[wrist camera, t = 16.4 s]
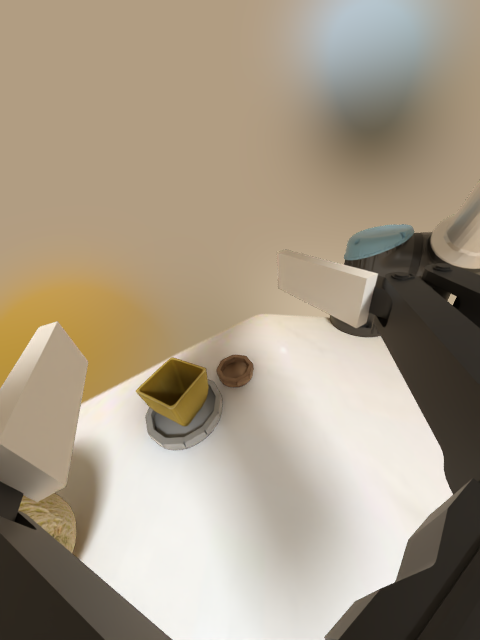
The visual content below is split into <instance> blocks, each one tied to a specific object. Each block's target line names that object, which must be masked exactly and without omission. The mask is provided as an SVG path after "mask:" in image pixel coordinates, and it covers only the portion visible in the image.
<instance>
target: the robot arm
mask: <svg viewBox="0 0 480 640" xmlns="http://www.w3.org/2000/svg"><path fill="white" fill-rule="evenodd" d="M344 259H345V263H344V265H343V264H339V263H335V262H332V261H328V260H324V259H320V258H317V257H313V256H309V255H305V254H301V253H298V252H293V251H290V250H282V251H279V252H277V266H278V288H279V289H281V290H283V291H285V292H287V293H289V294H290V295H292V296H294V297H297V298H298V299H300V300H302V301H304V302H306V303H308V304H310V305H312V306H314V307H316V308H318V309H320V310H322V311H324V312H326V313H328V314H329V315H330V320H331V322H332V324H333V325H334V326H335V327H336V328H338V329H339V330H341V331H343V332H346V333H348V334H352V335H356V336H362V337H376V336H381V337H382V339H383V341H384V342H385V344H386V346H387V348H388V350H389V352H390V354H391V355H392V357H393V359H394V361H395V363H396V365H397V367H398V368H399V370H400V372H401V374H402V376H403V378H404V380H405V382H406V383H407V385H408V387H409V389H410V391H411V393H412V395H413V396H414V398H415V400H416V402H417V404H418V406H419V408H420V409H421V411H422V413H423V415H424V417H425V419H426V421H427V423H428V424H429V426H430V428H431V430H432V432H433V434H434V436H435V437H436V439H437V441H438V443H439V445H440V447H441V449H442V451H443V455H444V472H445V476H446V480H447V482H448V484H449V487H450V489H451V491H452V493H453V496H451V497H450V498H449V499H448V500H447V501H446V502H444V503H443V504H442V505H441V506H440V507H439V508H437V509H436V510H435V511H434V512H433V513H432V514H430V515H429V516H428V518H427V519H426V520H425V521H424V522H423V523H422V525H421V526H420V527H419V528H418V529H417V530H416V532H415V533H414V534H413V535H412V536H411V537H410V538H409V540H408V542H407V546H406V549H405V552H404V556H403V559H402V562H401V566H400V569H399V572H398V575H397V579H396V581H395V583H393V584H390V585H388V586H386V587H384V588H381V589H379V590H377V591H375V592H373V593H371V594H369V595H367V596H365V597H363V598H361V599H359V600H357V601H355V602H354V603H353V605H352V606H351V607H350V608H349V609H348V610H347V612H346V613H345V614H344V615H343V616H342V617H341V618H340V620H339V621H338V622H337V623H336V624H335V625H334V627H333V628H332V629H331V630H330V631H329V632H328V634H327V635H326V636H325V637H324V638H325V640H480V180H479V181H478V183H477V184H476V186H475V187H474V189H473V190H472V191H471V193H470V194H469V196H468V197H467V199H466V200H465V202H464V203H463V205H462V206H461V208H460V209H459V211H458V212H457V213H456V214H453V215H451V216H449V217H447V218H446V219H444V220H443V221H442V222H440V223H439V224H438V225H437V226H436V228H435V229H434V230H433V232H423V233H414V230H413V227H412V226H410V225H404V224H402V225H385V226H379V227H374V228H370V229H366V230H363V231H360V232H358V233H356V234H354V235H353V236H352V237H351V238H350V239H349V241H348V244H347V249H346V253H345V255H344ZM450 294H453V295H455V296H457V298H456V299H455V302H454V304H453V306H452V305H451V304H450V303H449V302H447V301H448V298H449V296H450ZM87 365H88V361H87V359H86V358H85V357H84V355H83V354H82V353H81V352H80V350H79V349H78V348H77V346H76V345H75V344H74V342H73V341H72V340H71V338H70V337H69V336H68V335H67V333H66V332H65V330H64V329H63V328H62V327H61V325H60V324H59V323H58V322H54V323H51V324H48V325H45V326H41V327H39V328H38V329H37V331H36V333H35V334H34V336H33V337H32V339H31V341H30V342H29V344H28V346H27V347H26V349H25V350H24V352H23V353H22V355H21V357H20V358H19V360H18V361H17V363H16V365H15V366H14V368H13V370H12V371H11V373H10V374H9V376H8V378H7V379H6V381H5V382H4V384H3V385H2V387H1V389H0V640H172V639H171V638H170V637H169V636H167V635H166V634H165V633H164V632H163V631H162V630H160V629H159V628H158V627H157V626H156V625H155V624H153V623H152V622H151V621H150V620H149V619H148V618H147V617H145V616H144V615H143V614H142V613H141V612H140V611H138V610H137V609H136V608H135V607H134V606H133V605H131V604H130V603H129V602H128V601H127V600H126V599H124V598H123V597H122V596H121V595H120V594H119V593H117V592H116V591H115V590H114V589H113V588H112V587H110V586H109V585H108V584H107V583H106V582H105V581H104V580H102V579H101V578H100V577H99V576H98V575H97V574H95V573H94V572H93V571H92V570H91V569H90V568H88V567H87V566H86V565H85V564H84V563H83V562H81V561H80V560H79V559H78V558H77V557H76V556H74V555H73V554H72V553H71V552H70V551H69V550H67V549H66V548H65V547H64V546H63V545H62V544H61V543H59V542H58V541H57V540H56V539H55V538H54V537H52V536H51V535H50V534H49V533H48V532H47V531H45V530H44V529H43V528H42V527H41V526H40V525H38V524H37V523H36V522H35V521H34V520H33V519H31V518H30V517H29V516H28V515H27V514H25V513H23V512H20V511H18V510H19V507H20V504H21V501H22V497H23V495H24V496H26V497H28V498H30V499H32V500H34V501H36V502H39V501H40V500H42V499H44V498H46V497H48V496H50V495H51V494H53V493H55V492H57V491H59V490H61V489H62V488H64V487H66V486H67V480H68V474H69V469H70V463H71V457H72V451H73V446H74V440H75V434H76V429H77V423H78V417H79V411H80V406H81V400H82V394H83V388H84V383H85V377H86V371H87Z"/></svg>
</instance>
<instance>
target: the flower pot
mask: <svg viewBox="0 0 480 640" xmlns="http://www.w3.org/2000/svg"><path fill="white" fill-rule="evenodd" d="M136 392H137V393H138V395H139V396H140V397H141V398H142V399H143V400H144V401H145V402H146V403H147V405H148V406H149V407H150V408H151V409H153V410H154V411H155V412H157V413H159V414H161V415H163V416H165V417H167V418H169V419H170V420H172V421H174V422H176V423H178V424H180V425H181V426H188V425H189V424H190V423H191V421H192V420H193V418H194V417H195V416H196V414H197V413H198V411H199V410H200V409H201V407H202V406H203V404H204V402H205V400H206V398H207V395H208V379H207V372H206V368H204V367H201V366H198V365H195V364H192V363H188V362H186V361H182V360H180V359H177V358H173V357H172V358H170V359H169V360H168V361H167V362H165V363H164V364H163V365H162V366H161V367H160V368H159V369H158V370H157V371H156V372H155V373H154V374H153V375H152V376H151V377H149V378H148V379H147V380H146V381H145V382H144V383H143V384H142V385H141V386H140V387H139V388H138V389H137V390H136Z"/></svg>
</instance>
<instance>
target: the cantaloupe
mask: <svg viewBox="0 0 480 640" xmlns="http://www.w3.org/2000/svg"><path fill="white" fill-rule="evenodd" d="M18 511H20V512H23V513H25V514H27V515H28V516H29V517H30V518H31V519H33V520H34V521H35V522H36V523H37V524H38V525H40V526H41V527H42V528H43V529H44V530H45V531H47V532H48V533H49V534H50V535H51V536H52V537H54V538H55V539H56V540H57V541H58V542H59V543H61V544H62V545H63V546H64V547H65V548H66V549H67V550H69V551H70V552H71V553H73V550H74V546H75V538H76V521H75V517H74V514H73V512H72V509H71V507H70V505H69V504H68V503H66V502H65V501H64V500H63V499H62V498H60V497H59V495H57V494H56V493H53V494H51V495H50V496H48V497H46V498H44V499H42V500H40V501H39V502H36V501H34V500H32V499H30V498H28V497H26V496H24V495H23V497H22V501H21V504H20V507H19V510H18Z"/></svg>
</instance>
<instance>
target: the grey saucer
mask: <svg viewBox="0 0 480 640" xmlns="http://www.w3.org/2000/svg"><path fill="white" fill-rule="evenodd" d="M221 412H222V397H221V394H220V392H219V390H218V388H217V387H216V385H215V383H214V382H213V381H211V380H208V395H207V398H206V400H205V402H204V404H203V406H202V407H201V409H200V410H199V411H198V413H197V414H196V416H195V417H194V418H193V420H192V421H191V423H190V424H189V425H188V426H181V425H180V424H178V423H176V422H174V421H172V420H170V419H169V418H167V417H165V416H163V415H161V414H159V413H157V412H155V411H154V410H153V409H151V408H150V407H149V409H148V412H147V414H146V424H147V431H148V434H149V436H150V437H151V438H152V439H153V440H154V441H156V443H157V444H159V445H160V446H161V447H163V448H165V449H169V450H183V449H187V448H190V447H192V446H194V445H196V444H198V443H200V442H201V441H203V440H204V439H205V438H206V437H207V436H208V435H209V434H210V433H211V432H212V431H213V430H214V428H215V427H216V425H217V424H218V421H219V419H220V416H221Z"/></svg>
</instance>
